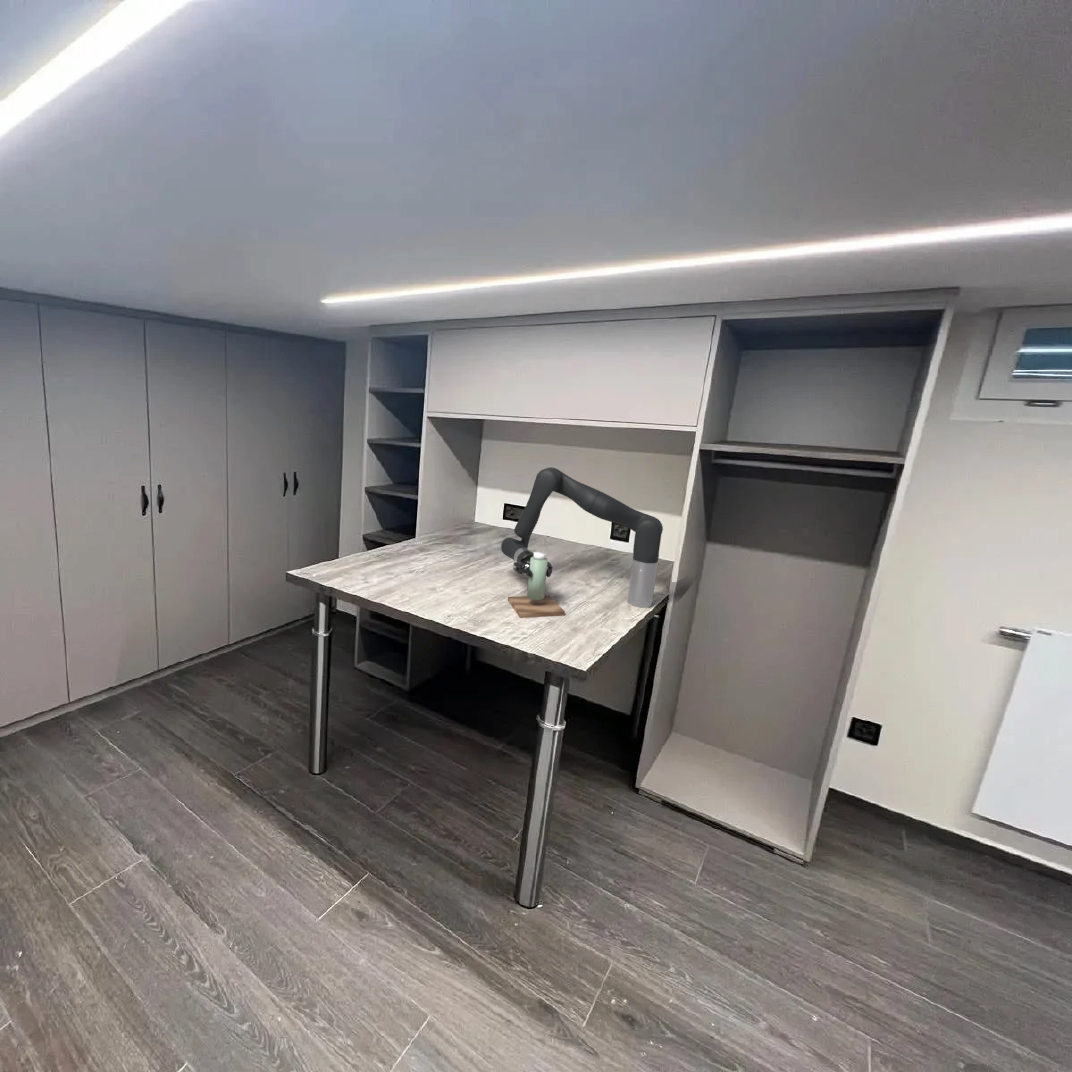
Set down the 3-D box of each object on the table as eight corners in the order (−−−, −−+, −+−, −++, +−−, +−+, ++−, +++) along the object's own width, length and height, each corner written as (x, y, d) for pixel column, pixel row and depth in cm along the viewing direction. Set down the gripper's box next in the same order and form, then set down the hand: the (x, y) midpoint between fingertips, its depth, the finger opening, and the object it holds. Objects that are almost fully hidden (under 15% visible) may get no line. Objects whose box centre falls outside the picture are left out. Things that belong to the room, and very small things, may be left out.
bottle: (535, 592, 180) (539, 549, 176) (547, 597, 176) (551, 554, 173) (523, 595, 176) (527, 552, 172) (536, 601, 172) (540, 556, 168)
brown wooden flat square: (507, 600, 182) (507, 596, 181) (549, 598, 187) (549, 595, 187) (520, 617, 167) (520, 613, 167) (564, 615, 172) (565, 611, 172)
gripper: (508, 550, 184) (521, 564, 169) (545, 550, 189) (560, 564, 173) (506, 569, 186) (519, 585, 170) (543, 569, 190) (558, 584, 175)
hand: (540, 574), depth 172 cm, fingers closed on bottle, 6 cm apart
